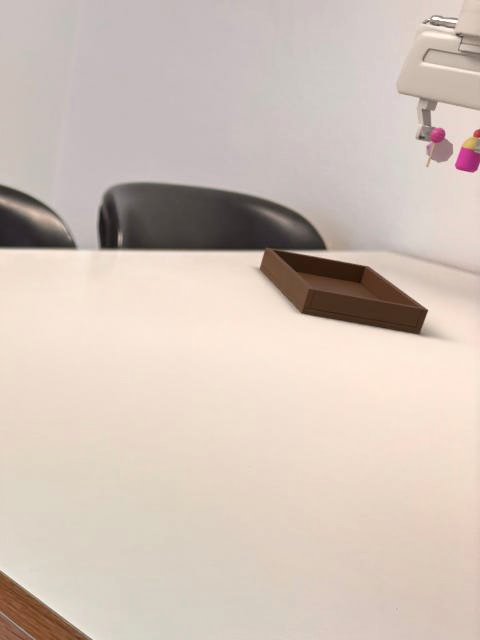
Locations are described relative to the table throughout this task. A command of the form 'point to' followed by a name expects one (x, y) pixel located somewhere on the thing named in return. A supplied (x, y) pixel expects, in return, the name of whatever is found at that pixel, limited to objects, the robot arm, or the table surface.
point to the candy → (443, 150)
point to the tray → (342, 291)
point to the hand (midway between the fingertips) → (451, 147)
